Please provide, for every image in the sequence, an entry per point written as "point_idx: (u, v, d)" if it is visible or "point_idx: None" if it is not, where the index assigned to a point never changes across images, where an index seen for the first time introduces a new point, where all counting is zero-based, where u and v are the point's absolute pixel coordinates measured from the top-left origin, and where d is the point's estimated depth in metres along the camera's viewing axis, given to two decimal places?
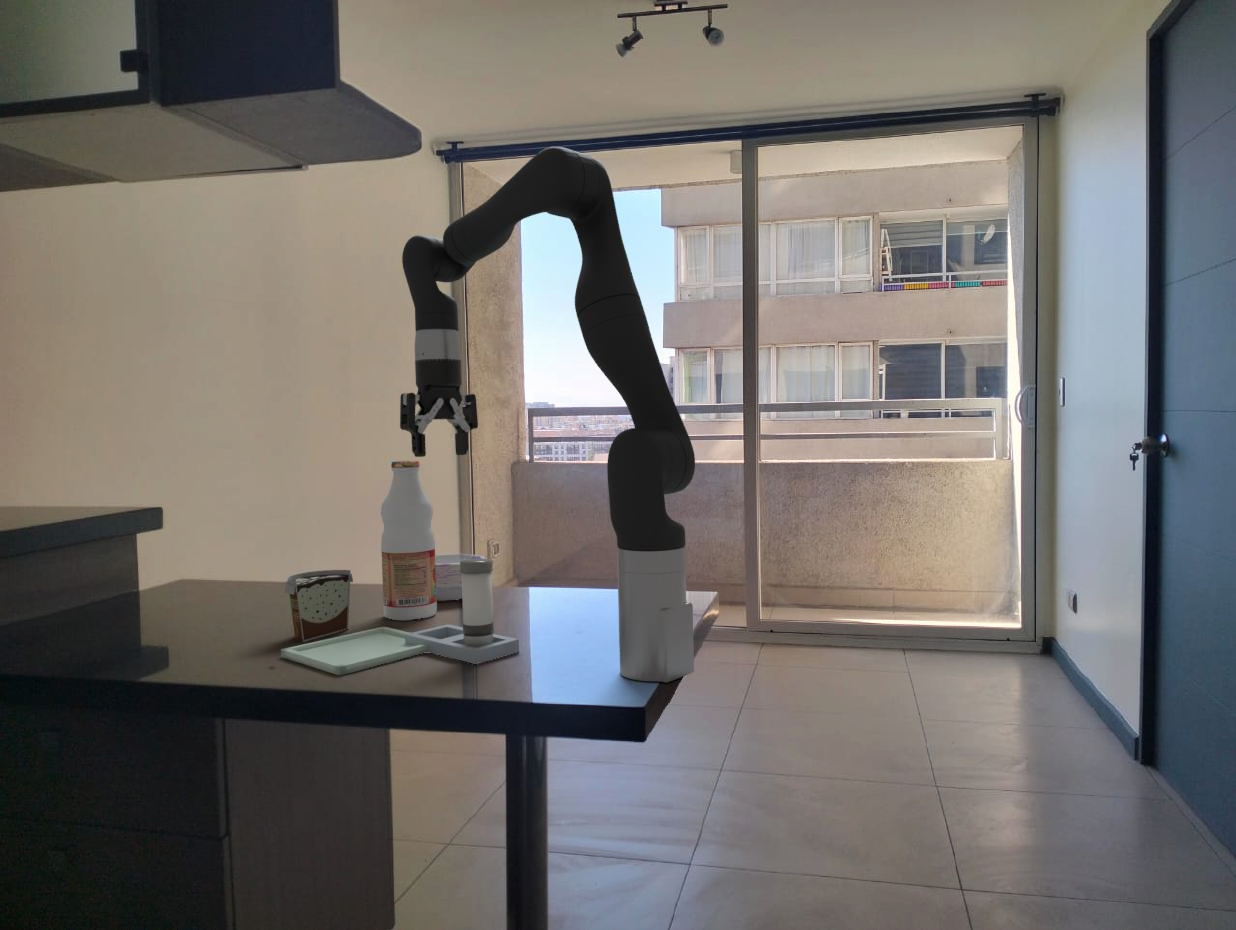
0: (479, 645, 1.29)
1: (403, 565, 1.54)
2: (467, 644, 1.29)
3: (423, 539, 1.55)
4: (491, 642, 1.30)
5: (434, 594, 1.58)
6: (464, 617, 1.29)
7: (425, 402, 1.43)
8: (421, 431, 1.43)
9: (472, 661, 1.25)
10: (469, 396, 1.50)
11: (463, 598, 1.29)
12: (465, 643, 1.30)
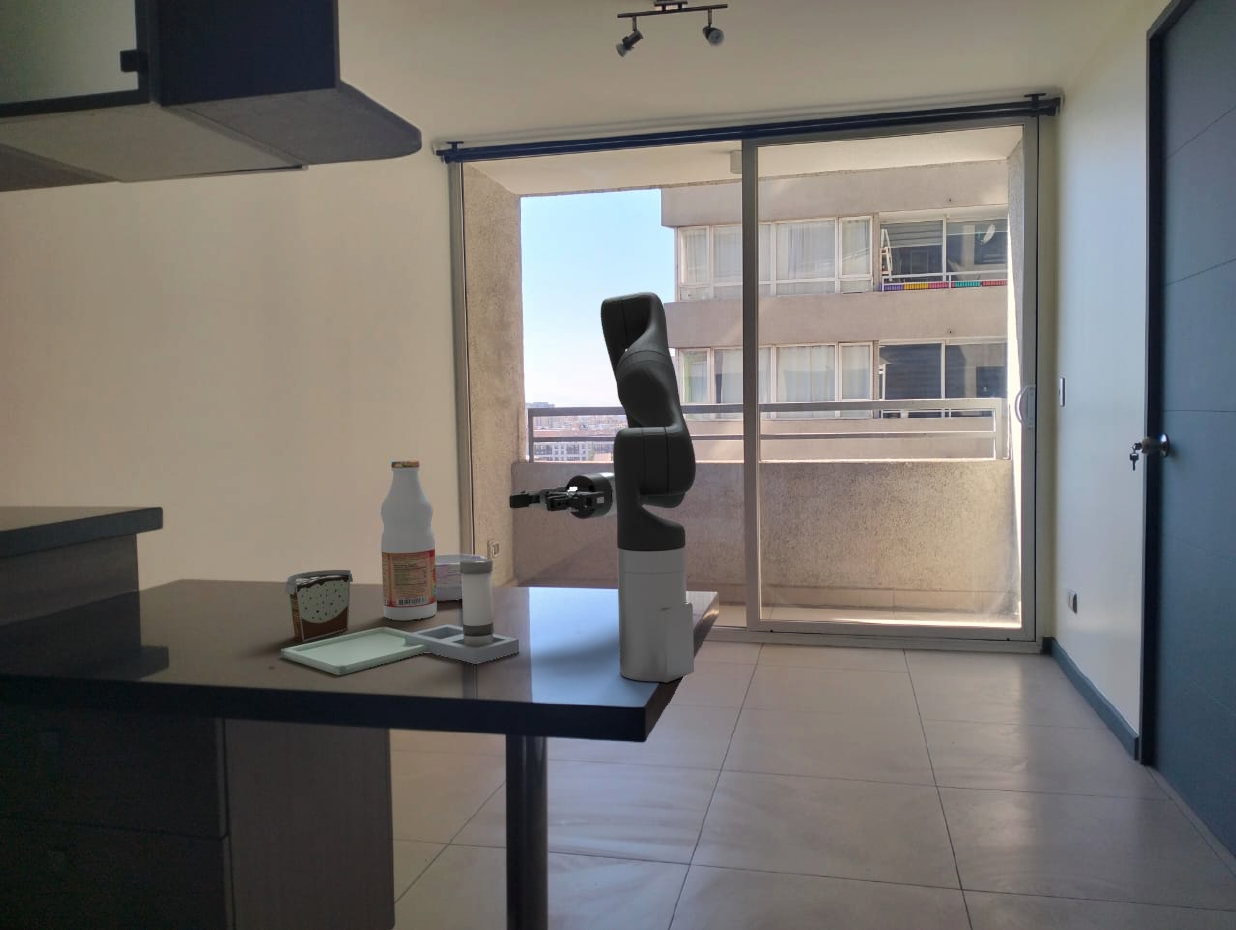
0: (479, 645, 1.29)
1: (403, 565, 1.54)
2: (467, 644, 1.29)
3: (423, 539, 1.55)
4: (491, 642, 1.30)
5: (434, 594, 1.58)
6: (464, 617, 1.29)
7: None
8: (527, 492, 1.44)
9: (472, 661, 1.25)
10: None
11: (463, 598, 1.29)
12: (465, 643, 1.30)
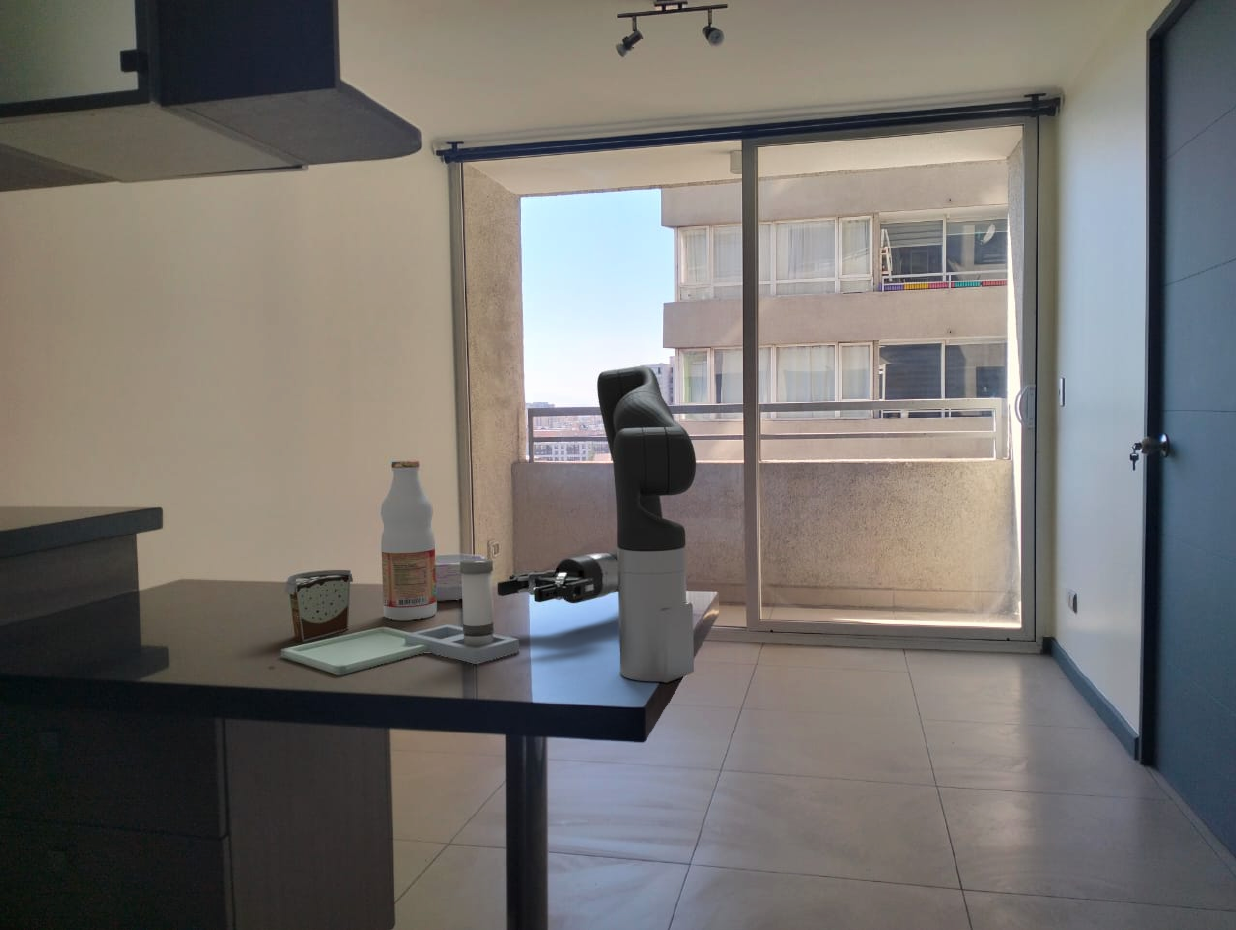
0: (479, 645, 1.29)
1: (403, 565, 1.54)
2: (467, 644, 1.29)
3: (423, 539, 1.55)
4: (491, 642, 1.30)
5: (434, 594, 1.58)
6: (464, 617, 1.29)
7: None
8: (516, 577, 1.43)
9: (472, 661, 1.25)
10: None
11: (463, 598, 1.29)
12: (465, 643, 1.30)
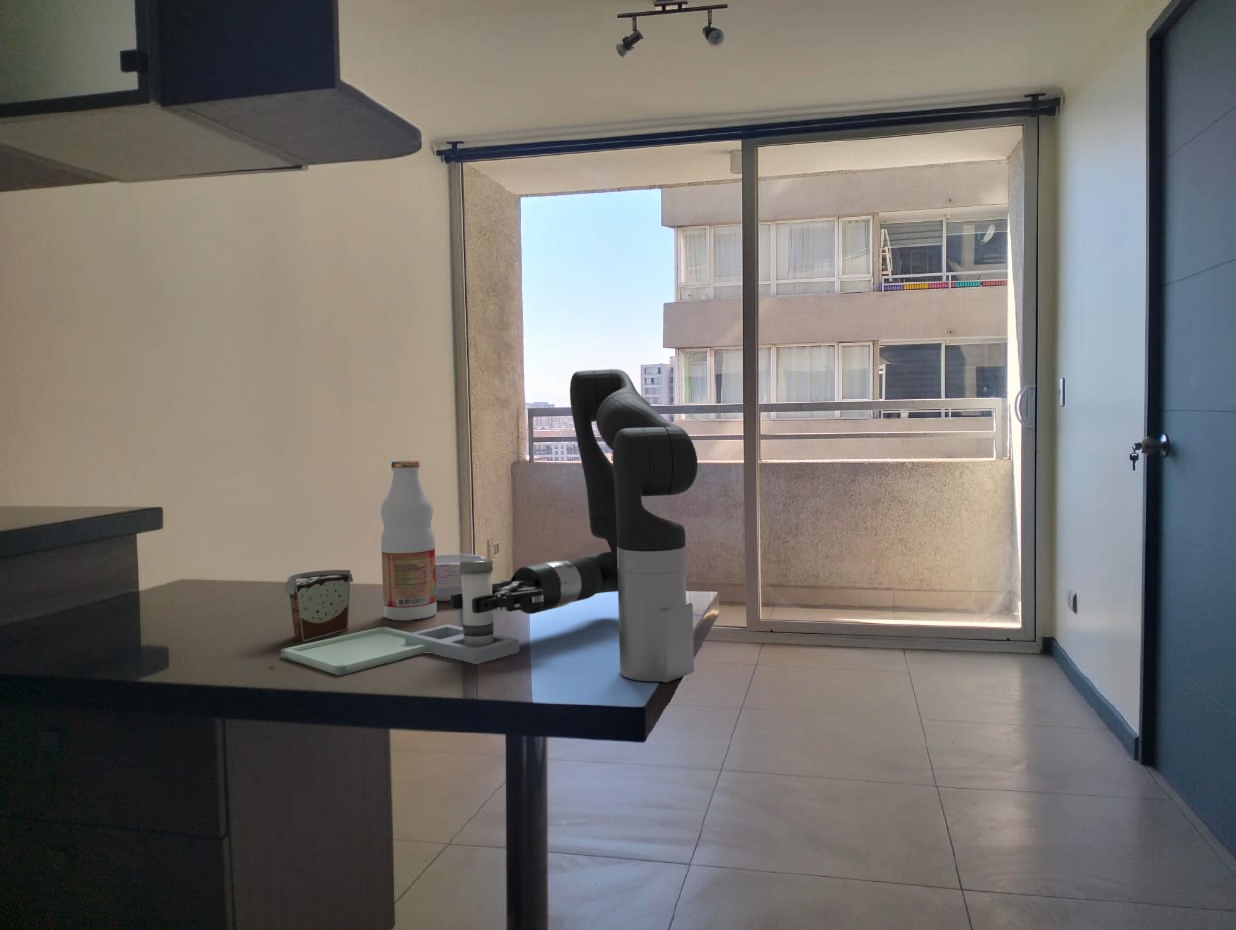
0: (479, 645, 1.29)
1: (403, 565, 1.54)
2: (467, 644, 1.29)
3: (423, 539, 1.55)
4: (491, 642, 1.30)
5: (434, 594, 1.58)
6: (464, 617, 1.29)
7: None
8: None
9: (472, 661, 1.25)
10: None
11: (463, 598, 1.29)
12: (465, 643, 1.30)
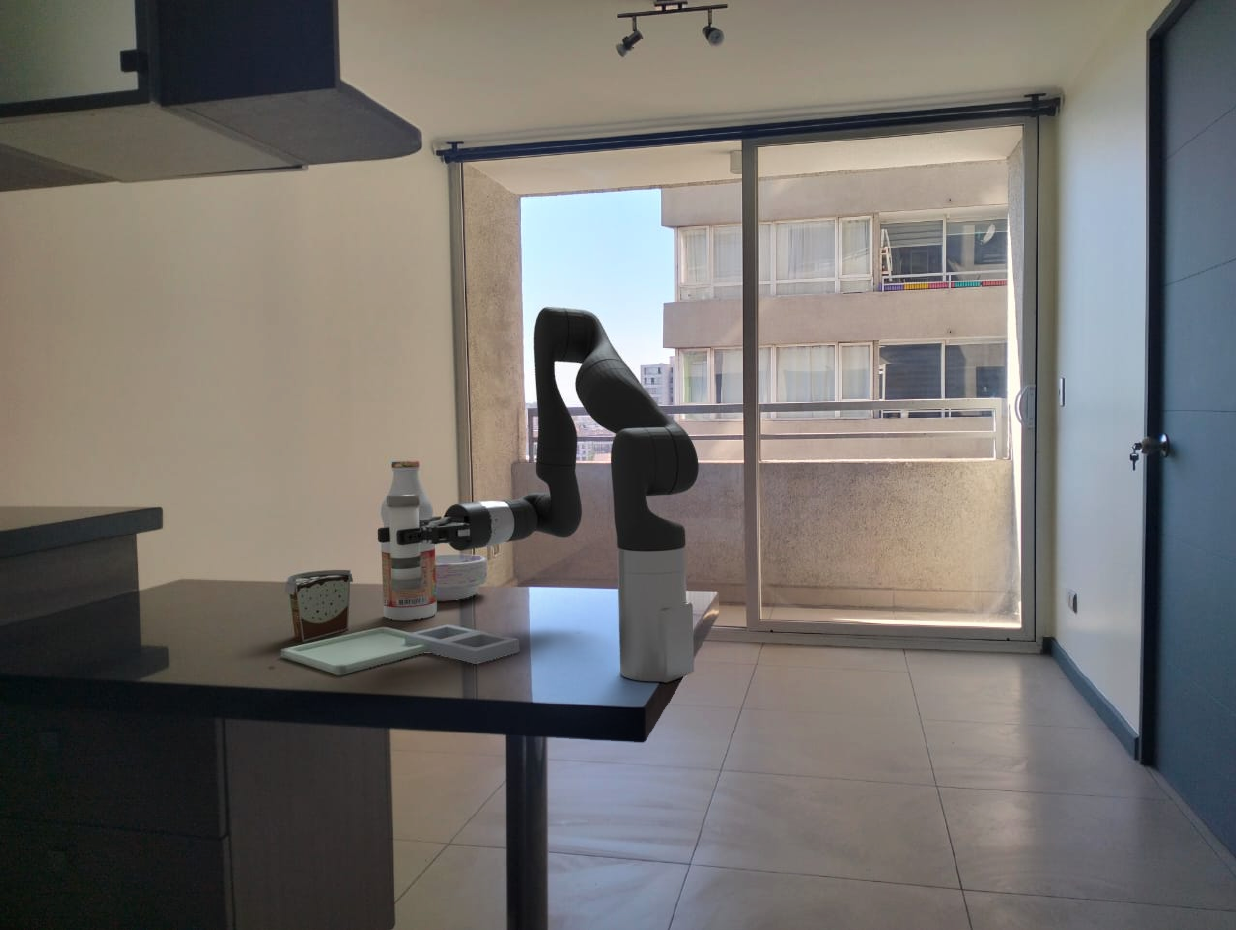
0: (405, 577, 1.31)
1: None
2: (394, 576, 1.31)
3: None
4: (418, 575, 1.32)
5: (434, 594, 1.58)
6: (391, 550, 1.31)
7: None
8: None
9: (472, 661, 1.25)
10: None
11: (390, 531, 1.31)
12: (392, 576, 1.31)
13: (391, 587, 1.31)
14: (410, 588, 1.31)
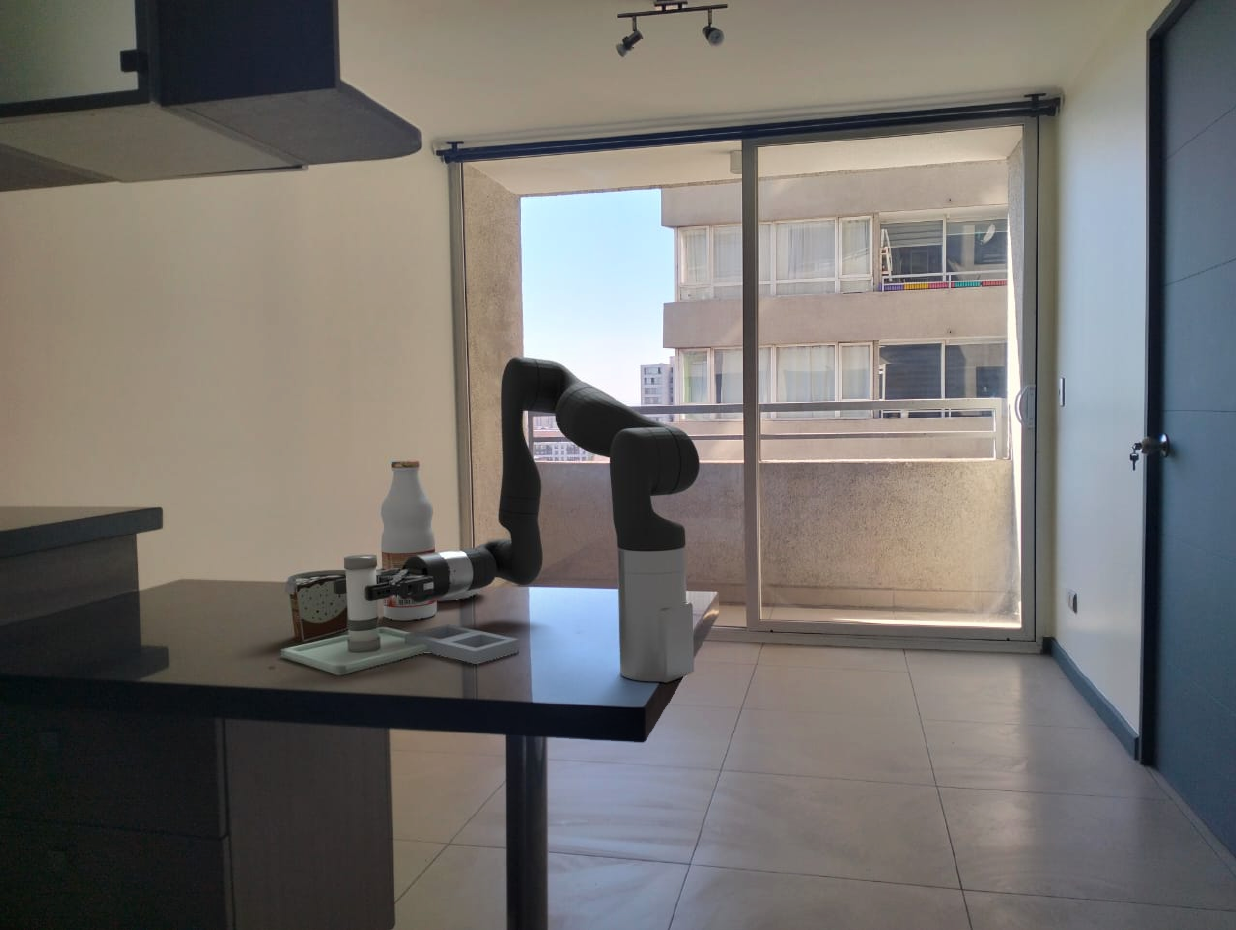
0: (362, 639, 1.31)
1: (403, 565, 1.54)
2: (351, 638, 1.32)
3: (423, 539, 1.55)
4: (375, 636, 1.32)
5: None
6: (348, 612, 1.32)
7: None
8: None
9: (472, 661, 1.25)
10: None
11: (347, 593, 1.32)
12: (349, 637, 1.32)
13: (348, 649, 1.32)
14: (367, 650, 1.31)
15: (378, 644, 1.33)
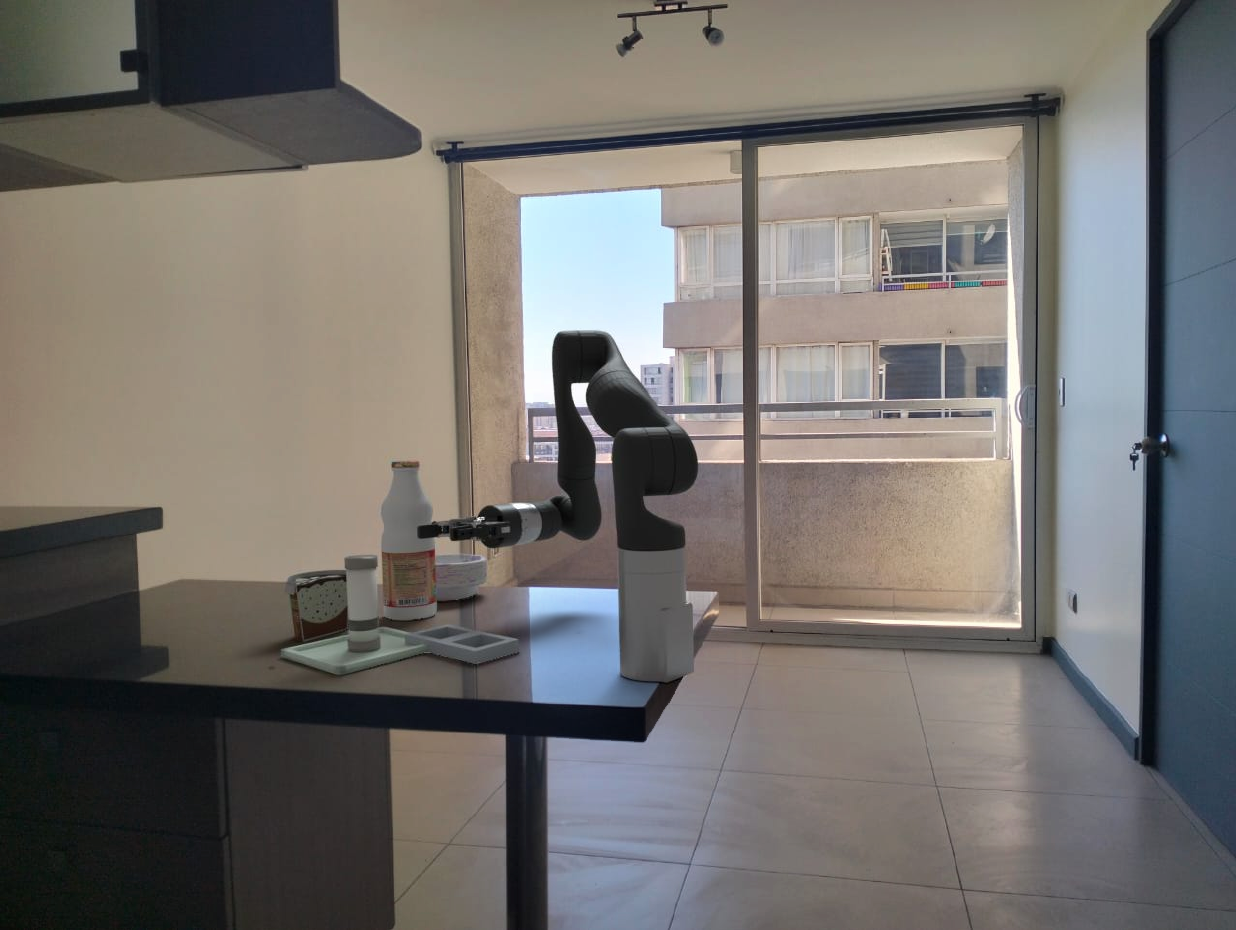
0: (362, 639, 1.31)
1: (403, 565, 1.54)
2: (351, 639, 1.32)
3: (423, 539, 1.55)
4: (375, 637, 1.32)
5: (434, 594, 1.58)
6: (348, 612, 1.32)
7: None
8: (436, 522, 1.48)
9: (472, 661, 1.25)
10: None
11: (347, 593, 1.32)
12: (349, 638, 1.32)
13: (348, 649, 1.32)
14: (367, 651, 1.31)
15: (378, 644, 1.33)
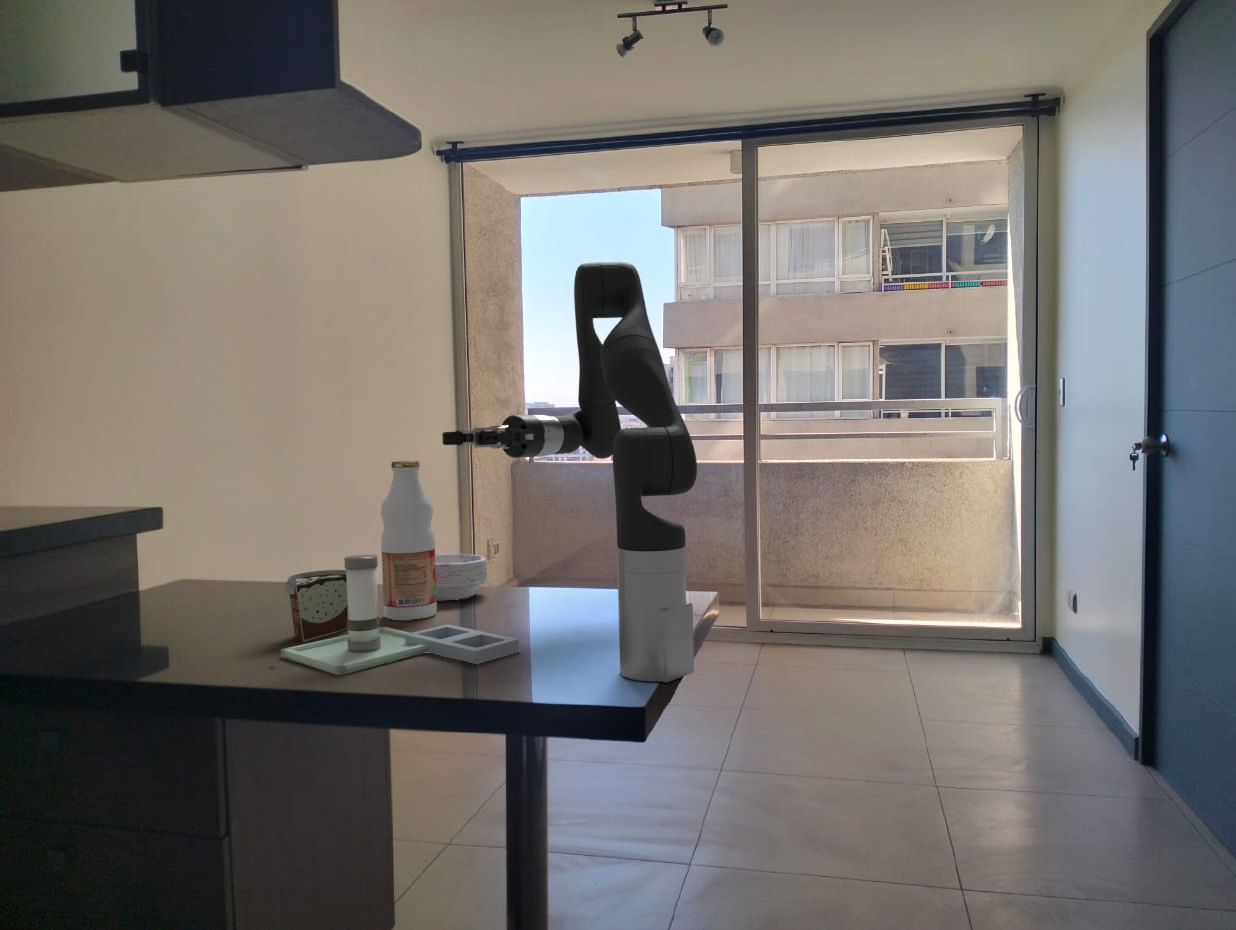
0: (362, 639, 1.31)
1: (403, 565, 1.54)
2: (351, 638, 1.32)
3: (423, 539, 1.55)
4: (375, 637, 1.32)
5: (434, 594, 1.58)
6: (348, 612, 1.32)
7: None
8: (461, 430, 1.50)
9: (472, 661, 1.25)
10: None
11: (347, 593, 1.32)
12: (349, 638, 1.32)
13: (348, 649, 1.32)
14: (367, 651, 1.31)
15: (378, 644, 1.33)
